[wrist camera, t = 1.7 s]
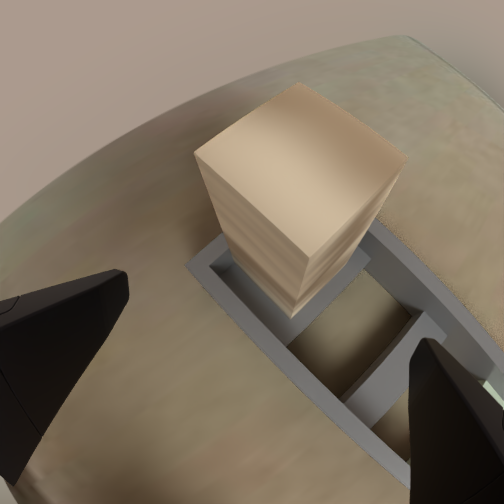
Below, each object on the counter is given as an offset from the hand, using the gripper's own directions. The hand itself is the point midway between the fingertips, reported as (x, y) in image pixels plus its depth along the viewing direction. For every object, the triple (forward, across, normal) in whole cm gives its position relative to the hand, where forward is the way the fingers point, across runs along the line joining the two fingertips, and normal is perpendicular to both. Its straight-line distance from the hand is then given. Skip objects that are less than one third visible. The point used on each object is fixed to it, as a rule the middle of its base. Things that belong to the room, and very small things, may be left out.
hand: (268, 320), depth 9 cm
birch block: (+11, 0, +4) cm, 11 cm away
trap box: (+8, -8, +9) cm, 15 cm away
